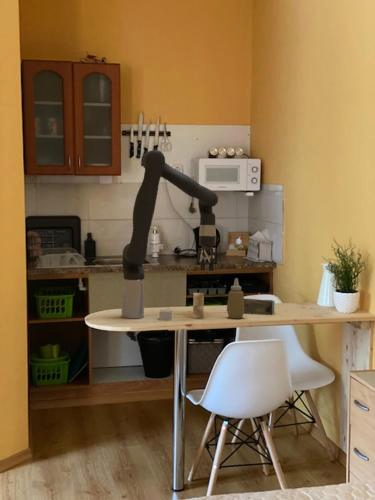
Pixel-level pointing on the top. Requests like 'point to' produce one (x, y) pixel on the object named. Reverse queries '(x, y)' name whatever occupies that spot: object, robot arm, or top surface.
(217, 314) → the top surface
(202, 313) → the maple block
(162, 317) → the grey block
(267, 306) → the beverage carton
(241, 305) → the squeeze bottle
